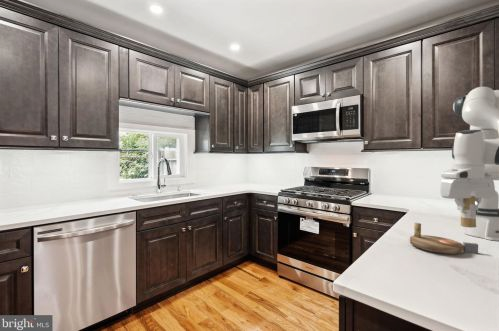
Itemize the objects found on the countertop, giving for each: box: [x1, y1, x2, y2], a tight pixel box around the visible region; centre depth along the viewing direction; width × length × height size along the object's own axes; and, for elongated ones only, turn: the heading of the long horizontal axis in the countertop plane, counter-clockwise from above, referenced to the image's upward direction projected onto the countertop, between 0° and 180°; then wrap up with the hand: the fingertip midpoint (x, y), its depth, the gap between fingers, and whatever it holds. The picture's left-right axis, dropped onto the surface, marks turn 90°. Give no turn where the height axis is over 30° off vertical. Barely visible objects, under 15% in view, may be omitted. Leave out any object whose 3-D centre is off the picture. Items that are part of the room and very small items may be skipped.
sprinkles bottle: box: [459, 191, 477, 228], centre depth 93 cm, size 5×5×13 cm
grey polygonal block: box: [462, 242, 479, 255], centre depth 101 cm, size 4×2×4 cm, turn 69°
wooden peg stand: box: [409, 222, 464, 255], centre depth 105 cm, size 18×18×8 cm
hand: (467, 210), depth 93 cm, fingers closed on sprinkles bottle, 4 cm apart
